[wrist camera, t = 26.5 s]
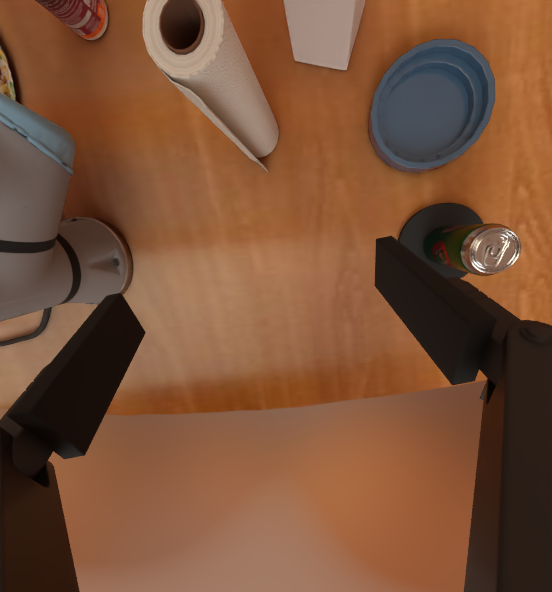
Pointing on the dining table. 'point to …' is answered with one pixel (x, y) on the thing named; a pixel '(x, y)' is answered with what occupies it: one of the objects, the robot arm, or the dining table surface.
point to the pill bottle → (80, 15)
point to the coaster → (430, 220)
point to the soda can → (473, 248)
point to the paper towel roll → (211, 69)
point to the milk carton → (323, 30)
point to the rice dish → (6, 77)
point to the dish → (431, 105)
